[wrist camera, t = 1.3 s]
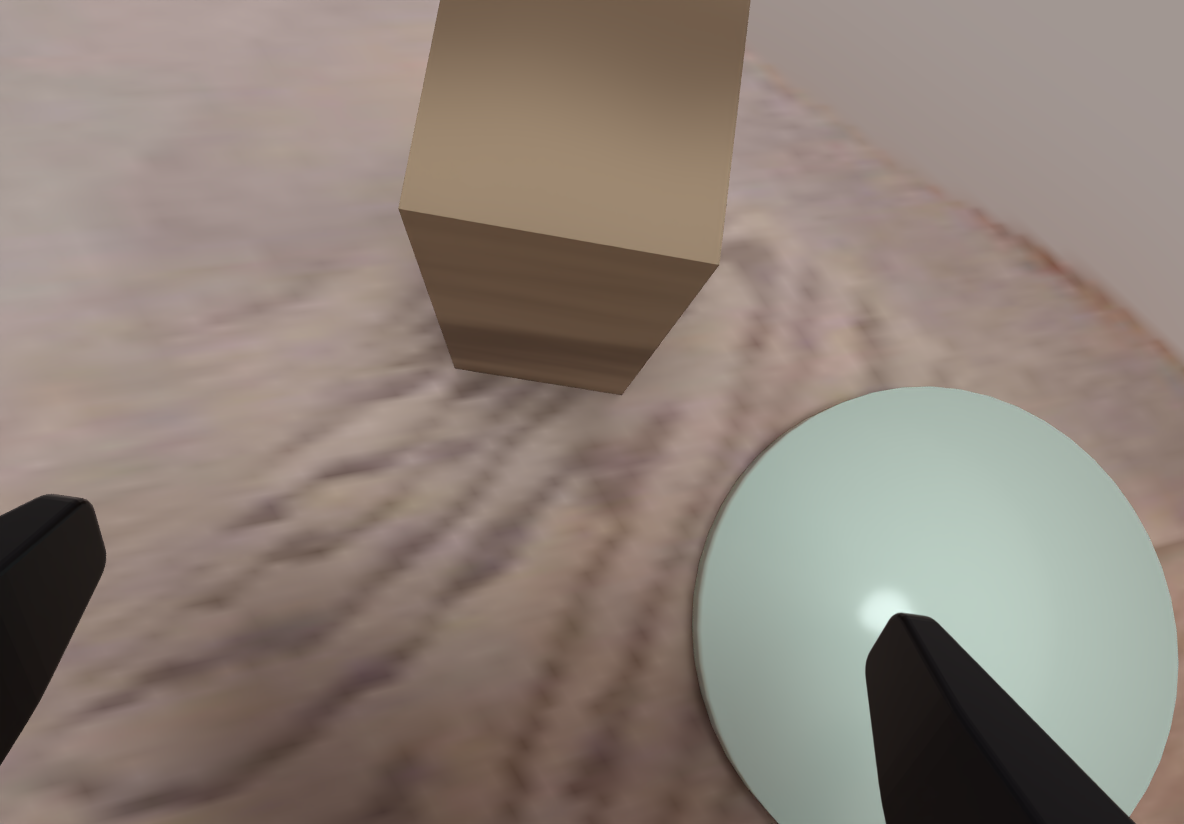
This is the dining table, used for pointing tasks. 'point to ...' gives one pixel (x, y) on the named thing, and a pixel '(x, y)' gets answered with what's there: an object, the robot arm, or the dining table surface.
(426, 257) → the walnut block
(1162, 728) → the dish
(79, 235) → the dining table surface
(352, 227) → the dining table surface
